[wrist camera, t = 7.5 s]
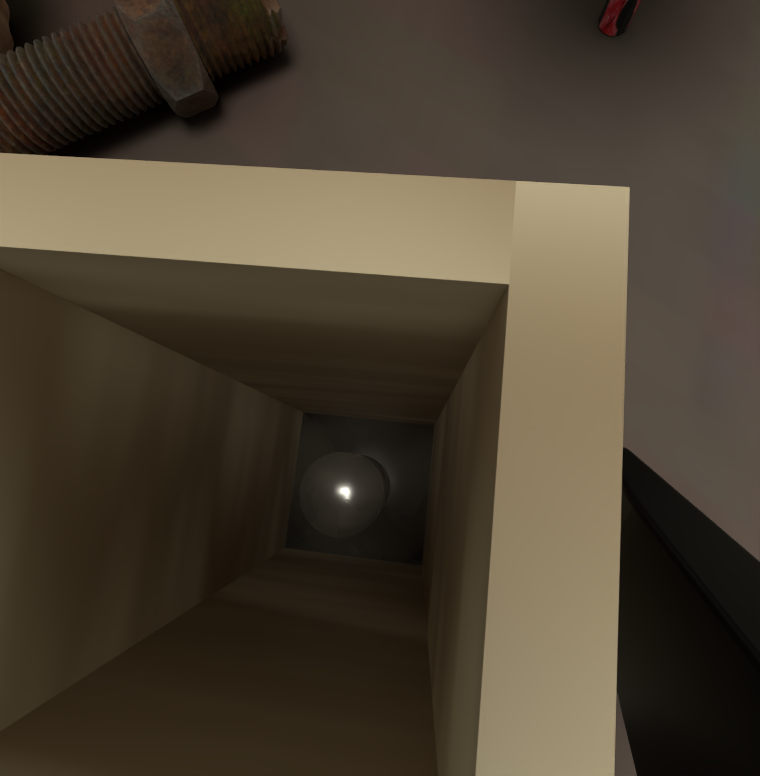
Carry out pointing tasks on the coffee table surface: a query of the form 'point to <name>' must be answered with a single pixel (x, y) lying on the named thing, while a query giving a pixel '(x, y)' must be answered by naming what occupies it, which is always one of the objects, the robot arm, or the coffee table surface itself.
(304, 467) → the square metal plate
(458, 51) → the coffee table surface
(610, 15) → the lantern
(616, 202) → the sleeve
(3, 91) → the bolt
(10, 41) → the cupcake
